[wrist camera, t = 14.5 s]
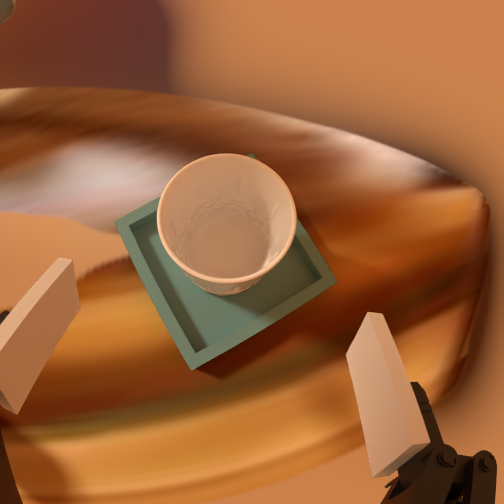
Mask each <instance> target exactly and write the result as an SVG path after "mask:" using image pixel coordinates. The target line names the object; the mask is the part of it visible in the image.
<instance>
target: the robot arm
mask: <svg viewBox="0 0 504 504" xmlns="http://www.w3.org/2000/svg"><path fill="white" fill-rule="evenodd" d="M14 9H15V0H0V24H1V23H2V22H4V21H5V20H7V19H8V18H9V17H10V16H11V15H12V13H13V12H14ZM79 309H80V303H79V297H78V291H77V285H76V279H75V273H74V266H73V260H70V259H65V258H61V257H59V258H58V259H57V260H56V261H55V262H54V263H53V264H52V265H51V266H50V268H49V269H48V270H47V271H46V272H45V273H44V274H43V275H42V276H41V277H40V279H38V281H37V282H36V283H35V284H34V285H33V286H32V287H31V289H30V290H29V291H28V292H27V293H26V294H25V295H24V297H23V298H22V299H21V300H20V301H19V302H18V304H17V305H16V306H15V307H14V308H13V310H12V311H11V312H9V311H6V310H5V311H4V312H2V313H1V314H0V404H1V405H2V407H3V408H5V409H7V410H9V411H11V412H13V413H15V414H16V415H18V413H19V411H20V409H21V407H22V405H23V403H24V401H25V399H26V397H27V396H28V394H29V392H30V390H31V388H32V386H33V385H34V383H35V381H36V379H37V377H38V376H39V374H40V372H41V370H42V369H43V367H44V365H45V364H46V362H47V360H48V359H49V357H50V355H51V353H52V352H53V350H54V349H55V347H56V345H57V344H58V342H59V340H60V339H61V337H62V336H63V334H64V332H65V331H66V329H67V328H68V326H69V325H70V323H71V322H72V320H73V318H74V317H75V315H76V314H77V312H78V311H79ZM346 357H347V361H348V365H349V370H350V374H351V378H352V382H353V387H354V391H355V396H356V400H357V405H358V409H359V414H360V419H361V423H362V428H363V433H364V438H365V443H366V448H367V454H368V459H369V464H370V470H371V476H372V478H375V477H382V476H389V475H391V474H392V473H393V472H395V471H396V470H398V474H399V476H398V477H396V478H395V479H393V480H392V481H391V482H389V483H388V484H387V485H386V486H385V487H386V488H388V487H389V486H391V485H392V486H391V487H390V489H389V491H388V492H387V494H386V496H385V497H384V499H383V501H382V502H381V504H495V493H496V476H497V464H496V460H495V458H494V456H493V455H492V454H491V453H490V452H488V451H484V450H482V451H480V452H478V453H477V454H475V455H474V456H473V457H470V456H463V455H458V454H457V452H456V451H455V449H454V448H452V447H451V446H449V445H446V444H444V442H443V440H442V437H441V434H440V431H439V428H438V425H437V423H436V420H435V417H434V414H433V412H432V409H431V406H430V404H429V400H428V398H427V395H426V393H425V391H424V389H423V388H422V387H421V386H420V384H419V383H418V382H410V381H409V378H408V375H407V373H406V370H405V368H404V365H403V362H402V360H401V357H400V355H399V352H398V350H397V347H396V345H395V342H394V340H393V338H392V335H391V333H390V330H389V328H388V326H387V323H386V321H385V319H384V316H383V314H381V313H373V312H367V314H366V316H365V318H364V320H363V322H362V324H361V326H360V328H359V330H358V332H357V334H356V336H355V338H354V340H353V342H352V344H351V346H350V348H349V349H348V351H347V353H346ZM462 496H463V497H462ZM0 504H23V503H22V500H21V498H20V495H19V492H18V489H17V486H16V483H15V480H14V477H13V474H12V471H11V468H10V464H9V461H8V457H7V454H6V450H5V446H4V442H3V438H2V433H1V429H0Z"/></svg>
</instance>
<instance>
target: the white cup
mask: <svg viewBox="0 0 504 504" xmlns="http://www.w3.org/2000/svg"><path fill="white" fill-rule="evenodd" d="M296 223H297V215H296V207H295V203H294V200H293V197H292V195H291V192H290V190H289V189H288V187H287V185H286V184H285V182H284V181H283V180H282V178H281V177H280V176H279V175H278V174H277V173H276V172H275V171H273V170H272V169H271V168H270V167H268V166H267V165H265V164H264V163H262V162H260V161H258V160H256V159H253V158H250V157H247V156H243V155H238V154H214V155H209V156H206V157H202V158H200V159H197V160H195V161H193V162H191V163H189V164H188V165H186V166H185V167H183V168H182V169H181V170H179V171H178V172H177V173H176V174H175V175H174V176H173V177H172V179H171V180H170V181H169V182H168V184H167V185H166V187H165V189H164V191H163V193H162V195H161V198H160V201H159V205H158V211H157V226H158V232H159V236H160V239H161V241H162V244H163V246H164V248H165V249H166V251H167V253H168V254H169V255H170V257H171V258H172V259H173V260H174V262H175V263H176V264H177V265H178V267H179V268H180V269H181V271H182V272H183V273H184V274H185V275H186V276H187V277H188V278H189V279H190V280H191V281H192V282H193V283H194V284H196V285H197V286H199V287H200V288H201V289H202V290H203V291H205V292H208V293H212V294H215V295H218V296H228V295H234V294H240V293H241V292H243V291H244V290H246V289H248V288H250V287H251V286H253V285H254V284H256V283H257V282H258V281H259V280H261V279H262V278H263V277H264V276H265V275H266V274H267V273H268V272H269V271H270V270H271V269H272V268H273V267H274V266H275V265H277V264H278V263H279V262H280V260H281V259H282V258H283V257H284V255H285V254H286V253H287V251H288V249H289V247H290V246H291V243H292V241H293V238H294V235H295V231H296Z"/></svg>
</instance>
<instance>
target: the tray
mask: <svg viewBox="0 0 504 504" xmlns="http://www.w3.org/2000/svg"><path fill="white" fill-rule="evenodd" d="M246 156H247V157H250V158H253V159H256V160H258V159H257V158H256V156H255V155H254V154H253V153H251V154H248V155H246ZM160 198H161V197H159V198H157V199H155V200H153V201H151V202H149V203H147V204H146V205H144V206H142V207H140V208H138V209H136V210H135V211H133V212H131V213H129V214H127V215H125V216H124V217H122V218H120V219H118V220H116V221H115V224H116V226H117V229H118V231H119V233H120V235H121V238H122V240H123V242H124V244H125V246H126V248H127V251H128V253H129V255H130V257H131V259H132V261H133V264H134V266H135V268H136V270H137V272H138V274H139V276H140V278H141V280H142V282H143V284H144V286H145V288H146V290H147V292H148V294H149V296H150V298H151V300H152V301H153V303H154V305H155V307H156V309H157V311H158V313H159V315H160V317H161V318H162V320H163V322H164V324H165V326H166V328H167V329H168V331H169V333H170V335H171V337H172V338H173V340H174V342H175V344H176V345H177V347H178V349H179V351H180V352H181V354H182V356H183V357H184V359H185V361H186V362H187V364H188V366H189V367H190V369H191V370H193V369H195V368H197V367H199V366H200V365H202V364H204V363H206V362H208V361H209V360H211V359H213V358H215V357H217V356H218V355H220V354H222V353H224V352H225V351H227V350H229V349H231V348H232V347H234V346H236V345H238V344H239V343H241V342H243V341H244V340H246V339H248V338H249V337H251V336H253V335H254V334H256V333H258V332H260V331H261V330H263V329H264V328H266V327H268V326H269V325H271V324H273V323H274V322H276V321H278V320H279V319H281V318H282V317H284V316H286V315H287V314H289V313H290V312H292V311H294V310H295V309H297V308H298V307H300V306H302V305H303V304H305V303H306V302H308V301H309V300H311V299H312V298H314V297H316V296H317V295H319V294H320V293H322V292H323V291H325V290H326V289H328V288H329V287H331V286H332V285H334V284H335V283H337V282H338V281H337V279H336V278H335V276H334V275H333V273H332V271H331V270H330V268H329V267H328V265H327V263H326V262H325V260H324V259H323V257H322V255H321V254H320V252H319V251H318V249H317V247H316V246H315V244H314V243H313V241H312V240H311V238H310V237H309V235H308V233H307V232H306V230H305V229H304V227H303V226H302V224H301V223H300V221H299V220H298V218H297V223H296V231H295V235H294V238H293V241H292V243H291V246H290V247H289V249H288V251H287V253H286V254H285V255H284V257H283V258H282V259H281V260H280V262H279V263H278V264H277V265H275V266H274V267H273V268H272V269H271V270H270V271H269V272H268V273H267V274H266V275H265V276H264V277H263V278H262V279H261V280H259V281H258V282H257V283H256V284H254V285H253V286H251V287H250V288H248V289H246V290H244V291H243V292H241V293H240V294H234V295H228V296H218V295H215V294H212V293H208V292H205V291H203V290H202V289H201V288H200V287H199V286H197V285H196V284H194V283H193V282H192V281H191V280H190V279H189V278H188V277H187V276H186V275H185V274H184V273H183V272H182V271H181V269H180V268H179V267H178V265H177V264H176V263H175V262H174V260H173V259H172V258H171V257H170V255H169V254H168V253H167V251H166V249H165V248H164V246H163V244H162V241H161V239H160V236H159V232H158V226H157V211H158V205H159V201H160Z"/></svg>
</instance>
